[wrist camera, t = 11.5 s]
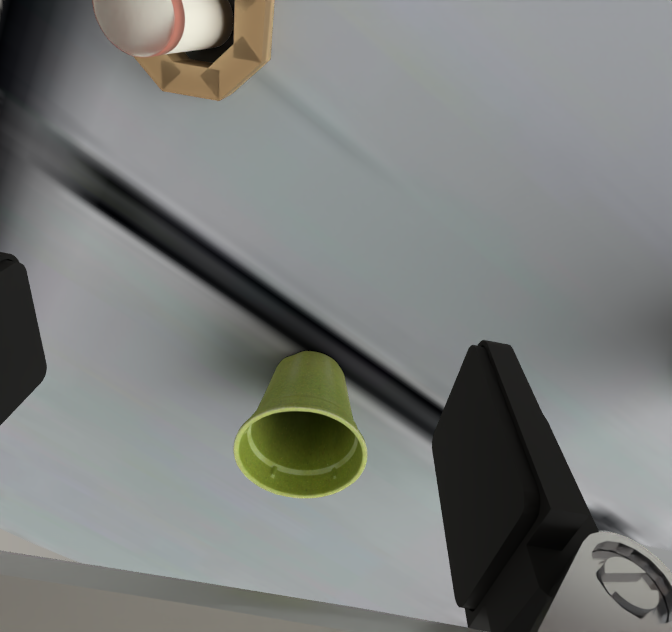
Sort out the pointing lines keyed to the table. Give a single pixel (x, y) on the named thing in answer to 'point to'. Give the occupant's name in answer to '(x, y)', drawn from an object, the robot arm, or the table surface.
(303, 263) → the table surface
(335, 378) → the plant pot
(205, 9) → the pink-tipped cream rod
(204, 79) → the bead
